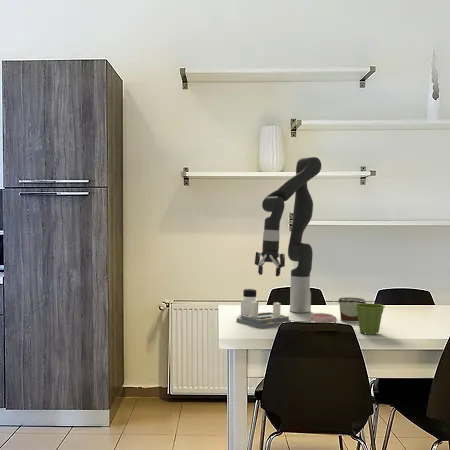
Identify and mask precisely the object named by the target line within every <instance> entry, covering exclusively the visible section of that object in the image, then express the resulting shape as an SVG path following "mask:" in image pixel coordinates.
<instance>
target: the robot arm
mask: <svg viewBox="0 0 450 450" xmlns="http://www.w3.org/2000/svg"><path fill="white" fill-rule="evenodd" d="M321 171H322V162H321V160H320V158H319V157H316V156H306V157H299V159H298V160H297V161H296V166H295V175H294V176H292V177H290V178H287V180H285V181H284V182H282V184H281V185H280V186H279V187H277V189H276V190H274V191H272V192H271V193H269V194H268V195H266V197H264V199H263V200H262V203H261V208H262V209H263V210H264V212H267V213H270V216H267V217H265V218H264V223H263V224H264V226H263V228H264V229H263V234H262V247H261V249H262V252H261V251H256V252H255V256H254V257H255V258H254V265H256V266H258V267H257V269H258V271H257V273H258V275H259V276H262V275H263V273H264V271H263V270H264V265H265V264H266V263H273V265H275V266H276V267H275V277H279V276H281V269H282V268H284V267H286V263H285V262H286V255H285V253H279V248H280V236H281V235H280V234H281V233H280V226H281V224H280V223H281V220H282V216H283V213H284V209H285V202H287V201H288V200H289V199H290V198H291V197H292V196H293V195H294V194H295V195H294V205H293V215H292V225H291V232H290V236H289V242H288V247H287V256H288V258H289V260H290V261H291V262H296V263H297V266H296V267H295V268H293V269H291V270H290V287H289V288H290V293H289V295H290V298H289V311H290V312H292V313H300V314H302V313H303V314H304V313H309V312H311V307H312V292H311V288H310V283H311V272H312V266H313V248H312V246H311V244H309V243H307V242H302V239H303V234H304V233H305V230H306V228H307V227H308V225H309V223H310V222H311V220H312V217H313V212H314V200H313V197H312V195H311V193H310V191H309V189H308V182H309V181H310V180H311V179H313V178H314V177H316V176H317V175H318V174H319V173H320V172H321ZM261 257H262V258H261ZM278 258H279V259H278Z"/></svg>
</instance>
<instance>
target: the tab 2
mask: <svg viewBox="0 0 450 450" xmlns="http://www.w3.org/2000/svg"><path fill="white" fill-rule="evenodd" d="M272 305H273V307H272V313H273V317H271V318H278V317H280V315H281V302H273V303H272Z"/></svg>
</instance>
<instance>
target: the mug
mask: <svg viewBox="0 0 450 450" xmlns="http://www.w3.org/2000/svg"><path fill="white" fill-rule="evenodd" d="M309 318H310V319H309V322H310V321H315V322H334V323H336V324H337V323H338V319H337V317H336V316H334V315H333V314H332V313H323V312H320V313H319V312H318V313H316V312H315V313H311V314H310V317H309Z"/></svg>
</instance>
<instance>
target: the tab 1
mask: <svg viewBox="0 0 450 450" xmlns="http://www.w3.org/2000/svg"><path fill="white" fill-rule="evenodd" d="M257 307H258V308H259V301H258V302H251V303H250V316H249V317H254V316H257Z"/></svg>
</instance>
